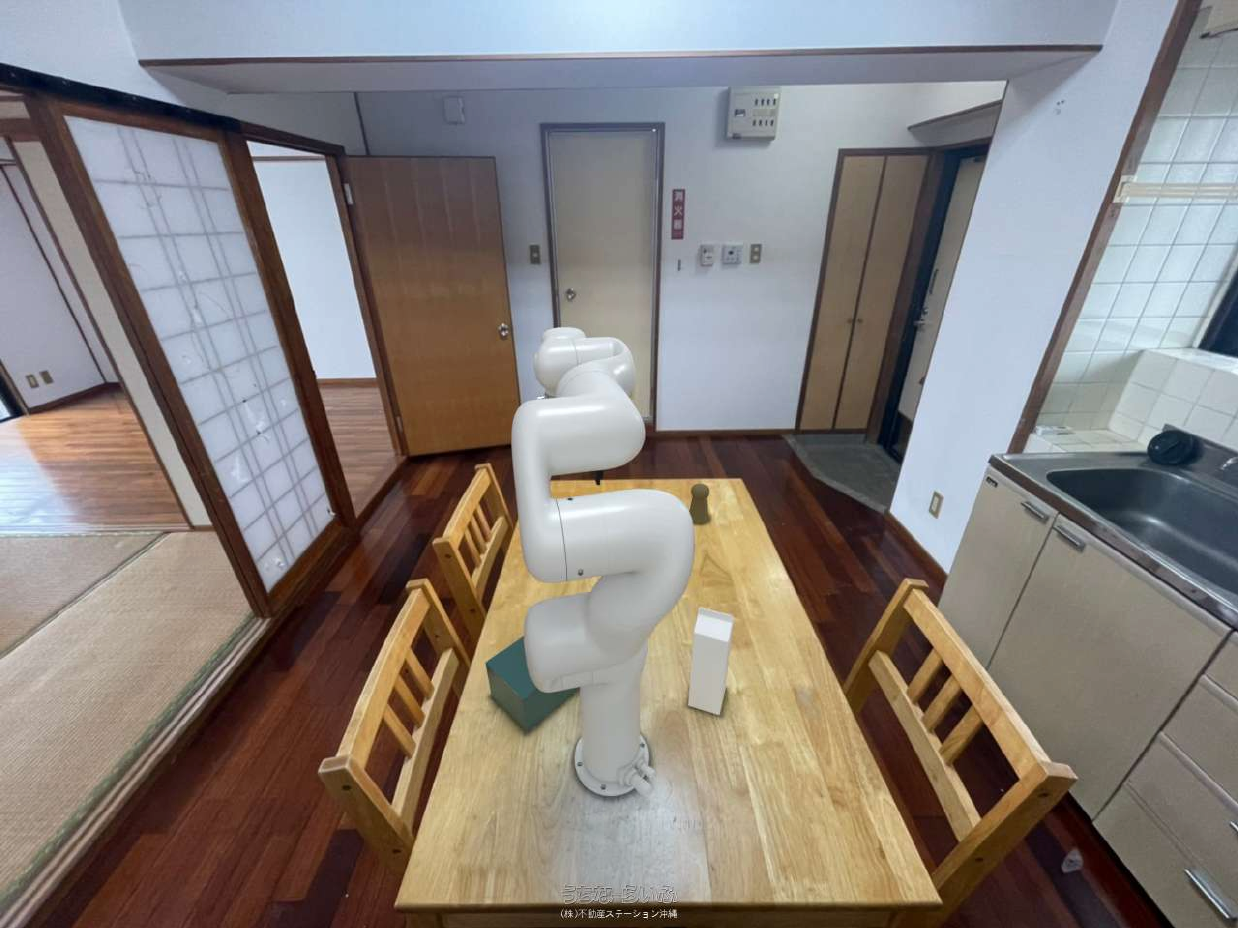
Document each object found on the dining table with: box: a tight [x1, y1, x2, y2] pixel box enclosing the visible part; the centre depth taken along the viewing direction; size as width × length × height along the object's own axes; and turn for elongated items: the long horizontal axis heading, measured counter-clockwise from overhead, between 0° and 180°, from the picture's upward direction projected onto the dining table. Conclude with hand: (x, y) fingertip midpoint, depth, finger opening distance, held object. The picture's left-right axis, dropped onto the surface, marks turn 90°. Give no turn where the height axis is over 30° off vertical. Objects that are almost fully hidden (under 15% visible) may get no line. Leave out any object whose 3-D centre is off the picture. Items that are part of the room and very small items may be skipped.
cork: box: [688, 483, 710, 525], centre depth 150 cm, size 6×6×11 cm
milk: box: [687, 606, 736, 716], centre depth 93 cm, size 6×6×22 cm
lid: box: [484, 635, 538, 701], centre depth 95 cm, size 14×11×5 cm
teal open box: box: [485, 665, 580, 733], centre depth 98 cm, size 14×11×8 cm
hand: (572, 484), depth 99 cm, fingers open, 9 cm apart
